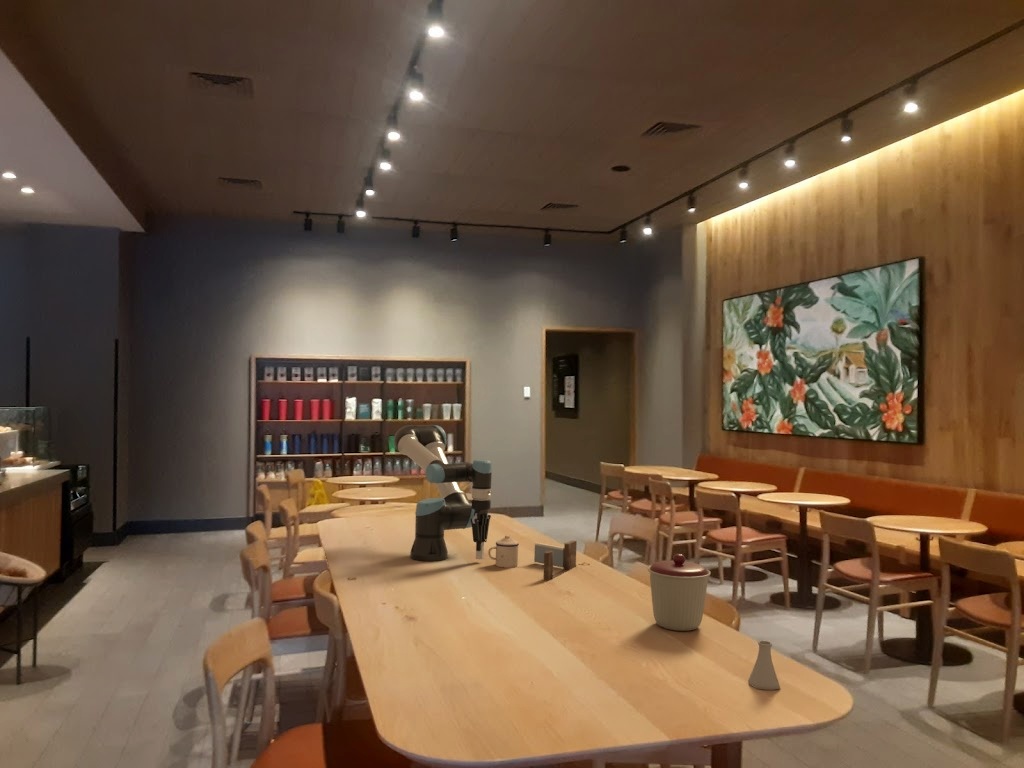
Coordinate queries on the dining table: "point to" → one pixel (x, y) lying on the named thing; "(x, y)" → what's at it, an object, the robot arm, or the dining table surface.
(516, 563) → the teacup with lid
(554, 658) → the dining table surface
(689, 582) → the canister
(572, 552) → the frame
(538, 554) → the gate
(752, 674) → the flask
